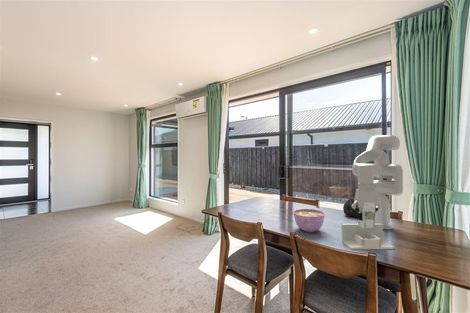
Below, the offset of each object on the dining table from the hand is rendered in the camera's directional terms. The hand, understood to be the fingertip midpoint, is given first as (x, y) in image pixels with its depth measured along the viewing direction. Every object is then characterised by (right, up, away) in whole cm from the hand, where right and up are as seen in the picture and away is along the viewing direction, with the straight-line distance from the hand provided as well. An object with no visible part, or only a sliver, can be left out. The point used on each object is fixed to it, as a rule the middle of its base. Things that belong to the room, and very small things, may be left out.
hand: (366, 219), depth 122 cm
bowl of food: (-23, -14, +26) cm, 37 cm away
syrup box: (0, -5, 0) cm, 5 cm away
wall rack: (0, -14, 0) cm, 14 cm away
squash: (+23, -13, +55) cm, 61 cm away
